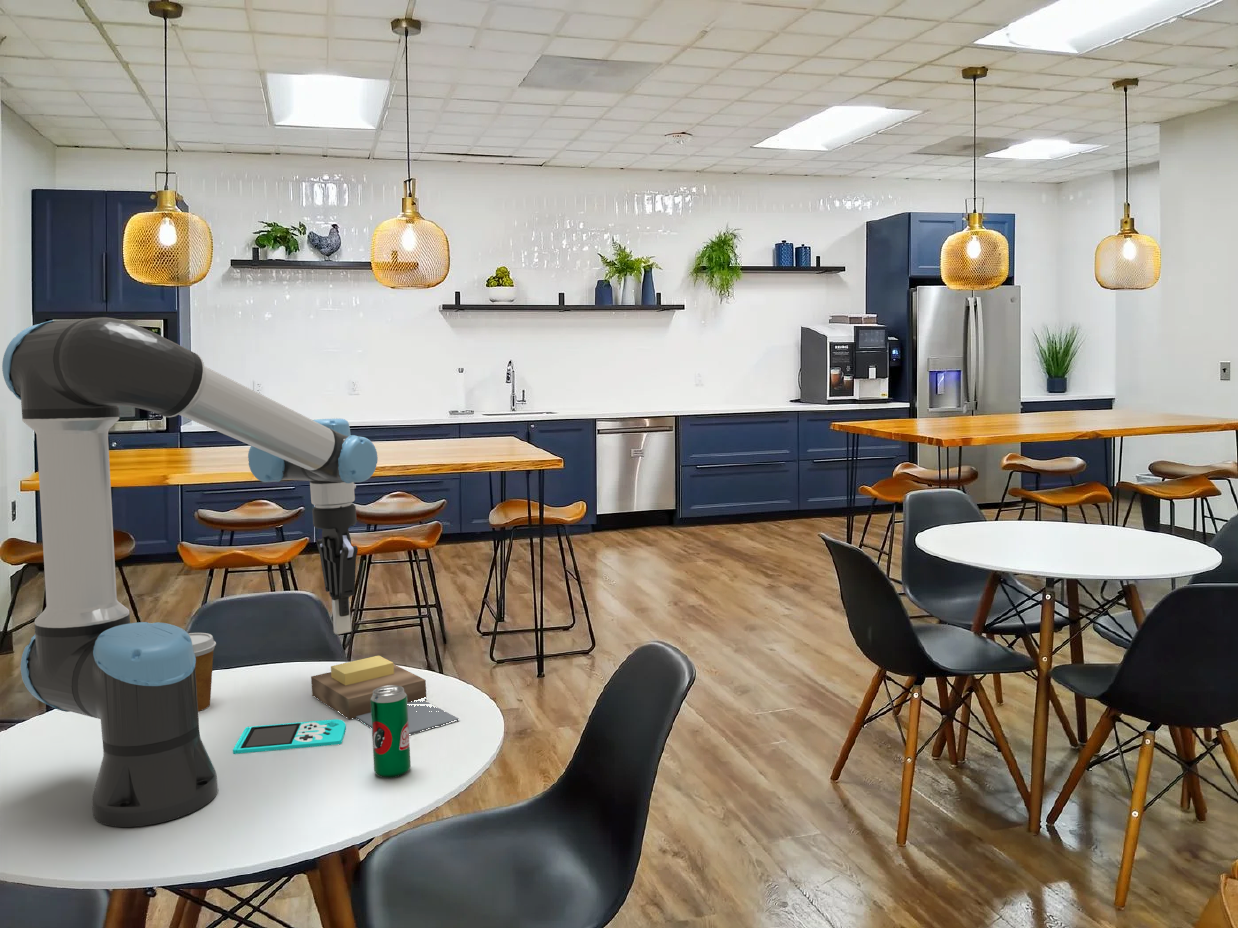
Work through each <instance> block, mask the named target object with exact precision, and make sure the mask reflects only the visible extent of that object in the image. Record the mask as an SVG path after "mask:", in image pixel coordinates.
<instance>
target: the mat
mask: <svg viewBox="0 0 1238 928" xmlns="http://www.w3.org/2000/svg"><path fill="white" fill-rule="evenodd" d="M425 701H426V700H425ZM425 701H423V702H422V701H421V702H420V701H417V702H416V701H415V702H414V701H412V702H408V703H407V704H431V703H430V702H428V701H427V702H425ZM436 707H437V708H436ZM436 707H435V708H434V707H433V706H432V707H431V708H430V707H429V706H428V707H427V706H426V705H425V706H420V705H419V706H417V705H416V706H415V707H414V705H412V706H411V705H410V706H409V705H408V724H409V734H412V735H415V734H414V733H416V734H418V732H419V733H421V732H420V731H422V730H426V729H428V728H432V727H435V726H440V727H442V726H441V725H443V724H446V723H449V722H451V721H454V720H458V719H459V720H460V718H459V717H457V716H455V715H453V714H451V713H449V712H447V711H445V710H443V709H441V708H439V707H438V706H436ZM416 711H417V712H416ZM429 711H430V712H429ZM431 711H432V712H431ZM436 711H437V712H436ZM438 711H439V712H438ZM444 711H445V712H444ZM356 718H357V719H359V720H361V721H362V722H363V723H362V722H361V723H362V724H364V723H365V724H366V725H365V724H364V725H365V726H367V725H368V726H370V727H371V728H372V722H371V712H370V713H367V714H363V715H359V716H356ZM356 718H355V719H356ZM357 719H356V720H357ZM359 720H358V721H359ZM368 726H367V727H368ZM370 727H369V728H370ZM371 728H370V729H371ZM426 731H427V730H426Z"/></svg>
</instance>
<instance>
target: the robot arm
mask: <svg viewBox="0 0 1238 928" xmlns="http://www.w3.org/2000/svg"><path fill="white" fill-rule="evenodd" d="M1 363H2V364H1V367H2V368H1V369H2V376H3V380H4V382H5V384H6V386H7V388H8V390H9V391H10V392H11V393H13V395H14V396H15V397H16V399H18V400H19V401H20V403H21V405H20V406H21V416H22V422H23V423H24V424H25V425H26V426H27V427H29V428H30V429H31V430H33V431H34V432H35V434H36V447H37V462H38V464H37V465H38V482H39V483H38V484H39V485H38V486H39V497H40V498H39V499H40V500H39V501H40V515H41V532H42V533H41V535H42V536H41V537H42V550H43V565H44V566H43V568H44V586H45V604H46V607H45V608H44V610H43V611H42V612H41V613H40V614H39V615H38V616H37V617H36V618H34V619H35V620H34V635H33V636H31V638H30V641H29V643H28V644H27V645H25V647H24V649H23V652H22V655H21V659H20V674H21V680H22V682H23V684H24V686H25V688H26V689H27V691H28V692H29V693H30V694H31V696H32V697H34V698H35V699H36V700H38V701H40V703H43V704H45V705H47V706H49V707H52V708H53V709H55V710H58V711H61V712H66V713H67V712H69V713H70V712H71V713H75V714H78V715H82V716H83V715H84V716H87V717H90V718H94V719H98V720H100V727H101V729H100V730H101V738H102V749H103V750H102V752H103V753H102V754H103V755H102V760H101V764H100V767H99V771H98V775H97V779H96V783H95V787H94V790H93V793H92V799H91V800H92V801H91V803H92V813H93V814H92V815H93V818H94V819H95V820H96V821H97V822H98V823H100V824H103V825H106V826H108V827H109V826H111V827H117V828H119V827H120V828H130V827H131V828H132V827H141V826H142V827H143V826H151V825H156V824H160V823H164V822H169V821H172V820H174V819H175V820H176V819H178V818H181V817H184V816H186V815H188V814H192V813H194V812H195V811H197V810H199V809H202V808H203V807H205V806H206V805H208V804H209V803H210V802H211V801H212V800H213V799H214V798H215V797H216V796H217V794H218V791H219V790H218V789H219V788H218V787H219V786H218V776H217V775H218V774H217V772H216V769H215V767H214V764H213V763H212V760H211V758H210V757H209V754H208V751H207V749H206V747H205V745H204V743H203V741H202V739H201V734H200V724H199V723H200V721H199V718H200V717H199V711H198V704H197V688H196V672H195V664H196V657H195V654H194V650H193V645H192V640H191V637H190V636H189V634H188V632H187V631H186V630H185V629H184V628H182V627H180V626H177V625H174V624H170V623H166V622H158V621H157V622H152V623H151V622H148V621H140V622H139V621H138V622H131V616H130V615H131V613H130V609H129V608H128V607H126V606H125V605H123V603H121V602H120V601H119V600H118V596H117V593H118V592H117V579H116V578H117V576H116V562H115V561H116V560H115V557H116V556H115V542H114V540H115V539H114V524H113V523H114V522H113V506H112V505H113V502H112V484H111V469H110V468H111V467H110V465H111V463H110V446H109V430H110V429H111V428H112V427H114V425H115V424H116V423H117V422H118V421H119V420H120V407H128V408H137V409H141V410H144V411H149V412H152V413H154V414H157V415H159V416H162V417H164V418H173V417H177V416H178V415H179V416H181V417H184V419H185V418H186V419H188V420H191V421H193V422H195V423H198V424H200V425H202V426H204V427H207V428H209V429H211V430H213V431H216V432H218V433H221V434H223V435H225V436H228V437H230V438H232V439H233V440H234V439H235V440H237V441H240V442H242V443H244V444H247V445H248V446H250V447H249V448H248V449H249V450H248V454H247V458H248V467H249V470H250V472H251V475H253V476H254V477H255V478H256V479H257V480H258V481H260V482H262V483H272V482H273V483H274V482H275V483H279V482H280V481H281V482H282V481H288V480H289V481H290V480H294V481H309V487H310V488H309V490H310V500H311V501H310V502H311V504H312V505H313V506H314V507H313V508H312V509H311V512H312V523H313V525H312V526H313V527H314V528H315V529H319V530H322V531H321V536H322V537H321V538H319V539H316V545H317V549H318V553H319V558H320V564H321V565H320V566H321V571H322V577H323V582H324V588H325V592H326V593H328V594H329V596H330V598H331V607H332V608H331V610H332V622H333V624H332V625H333V633H334V634H335V635H342V634H346V633H350V632H352V621H351V607H350V597H352V596H355V593H356V592H355V590H356V565H357V563H356V562H357V554H358V553H359V552H358V546H357V545H352V539H351V535H350V530H349V528H350V527H353V526H355V525H356V524H357V509H356V508H357V507H356V505H355V504H354V503H353V502H354V501H355V500H356V495H355V489H356V488H357V485H356V483H362V482H366V481H367V480H369V479H371V477H372V476H373V475H374V473H375V472H376V467H377V465H378V461H379V460H378V457H379V456H378V452H377V449H376V448H377V447H376V446H375V445H374V443H373V442H372V441H371V440H370V439H368V438H367V437H364V436H357V435H355V434H352V433H351V428H350V423H349V421H348V420H346V419H344V418H320V419H310V417H307V416H305V415H304V414H301V413H299V412H298V411H295V410H294V409H291V408H289V407H287V406H285V405H283V404H282V403H280V402H277V401H275V400H273V399H272V398H269V397H267V396H266V395H264V394H261V393H259V392H257V391H255V390H254V389H251V388H250V387H247V386H245V385H243V384H241V383H238V382H237V381H236V380H235V381H234V379H233V380H232V379H231V378H229V377H227V376H225V375H223V374H222V373H220V372H217V371H215V370H213V369H211V368H209V367H207V366H205V364H204V363H205V362H204V361H203V358H202V357H201V356H200V355H199V354H197V353H196V352H193V351H191V350H189V349H188V348H186V347H184V346H183V345H179V344H178V343H177V342H174V341H172V340H170V339H167V338H166V337H163V335H160V334H158V333H155V332H153V331H151V330H148V329H147V328H144V327H142V326H141V325H138V324H134V323H131V322H128V321H126V320H123V319H119V318H114V317H106V316H105V317H91V318H82V319H81V318H80V319H79V318H76V319H59V320H58V319H57V320H48V321H45V322H41V323H38V324H37V323H36V324H34V325H31V326H28V327H26V328H24V329H23V330H21V331H20V332H19V333H17V334H16V335H15V337H13V338H12V339H11V341H10V342H9V343H8V344H7V347H6V348H5V351H4V354H3V358H2V362H1ZM351 434H352V435H351Z"/></svg>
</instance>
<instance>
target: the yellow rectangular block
mask: <svg viewBox="0 0 1238 928" xmlns="http://www.w3.org/2000/svg"><path fill="white" fill-rule="evenodd" d="M394 665H395V664H394V662H393V661H390V660H388V659H387V658H384V657H382V656H381V655H375V656H370V657H366V658H362V659H357V660H352V661H349V662H347V661H346V662H344V663H339V664H336V665H331V666H330V672H331V677H332V678H334V679H335V680H337V681H339V682H340V683H342V684H344V685H350V684H354V683H358V682H362V681H366V680H370V679H375V678H379V677H383V676H387V675H391V674H394Z"/></svg>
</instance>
